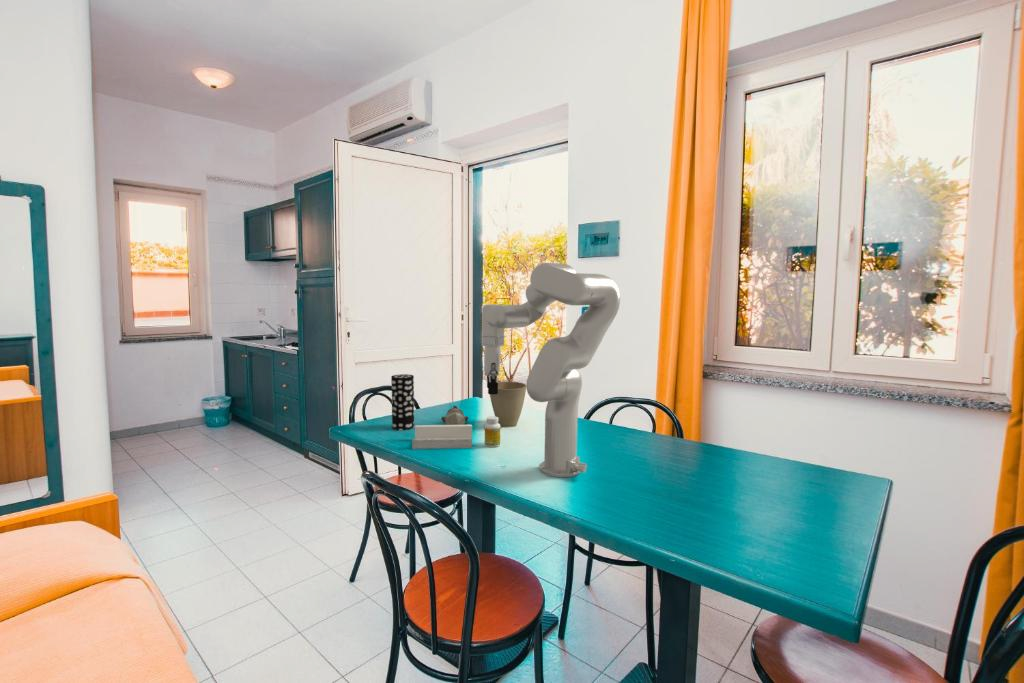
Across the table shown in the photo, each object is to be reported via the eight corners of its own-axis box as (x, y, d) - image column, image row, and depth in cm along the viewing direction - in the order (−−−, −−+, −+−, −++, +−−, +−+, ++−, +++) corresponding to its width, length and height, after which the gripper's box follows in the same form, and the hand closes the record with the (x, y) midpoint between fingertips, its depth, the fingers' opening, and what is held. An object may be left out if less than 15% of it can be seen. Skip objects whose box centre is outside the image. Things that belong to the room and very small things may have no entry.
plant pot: (487, 419, 206) (487, 381, 204) (523, 419, 207) (523, 381, 206) (489, 430, 191) (489, 389, 189) (528, 429, 193) (529, 388, 191)
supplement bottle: (494, 448, 170) (494, 420, 169) (481, 445, 172) (481, 418, 171) (503, 444, 174) (503, 417, 173) (490, 441, 177) (490, 414, 176)
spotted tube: (411, 430, 189) (411, 378, 187) (389, 430, 189) (388, 378, 187) (416, 424, 198) (415, 374, 195) (395, 424, 198) (394, 374, 195)
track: (471, 438, 181) (472, 424, 180) (472, 447, 170) (472, 433, 170) (415, 439, 179) (415, 425, 179) (412, 448, 168) (412, 434, 168)
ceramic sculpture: (441, 409, 187) (441, 402, 201) (440, 432, 187) (441, 423, 202) (469, 409, 188) (468, 402, 203) (469, 432, 188) (467, 423, 203)
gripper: (481, 338, 178) (480, 385, 180) (482, 344, 160) (481, 396, 163) (502, 338, 178) (501, 385, 180) (506, 344, 161) (505, 396, 163)
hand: (492, 390), depth 171 cm, fingers open, 9 cm apart
